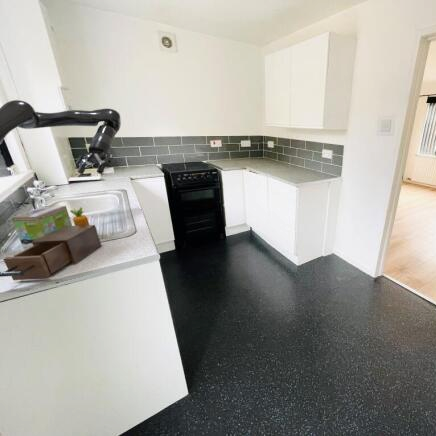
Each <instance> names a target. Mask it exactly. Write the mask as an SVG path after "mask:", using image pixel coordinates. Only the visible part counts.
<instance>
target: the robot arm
mask: <svg viewBox="0 0 436 436" xmlns="http://www.w3.org/2000/svg"><path fill="white" fill-rule="evenodd" d="M100 122H103V123H102V124H101V125H99V123H100ZM121 122H122V121H121V114H120V112H118V111H117V110H116V109H114V108H99V109H93V110H82V109H80V110H79V109H69V110H64V111H58V112H39V111H36V110H35V108H34V107H33V106H32V105H31V104H30V103H28V102H26V101H24V100H20V99H15V100H9V101H7V102H6V103H4V104H2V105H1V106H0V145H1V144H2V143H3V141H4V140H5V138H6V137H7V135H9V134H10V133H11V132H12V131H14V129H17V128H21V129H26V130H30V129H42V128H54V127H97V126H98V128H97V130H96V132H95V134H94V135H93V137H92V139H91V141H90V144H89V147H88V153H86V154H85V153H83V152H81V153H80V154H79V156H78V158H77V159H76V161H75V164H76V165H78V168H77V173H78V174H80V175H84V173H85V171H86V168H87V167H88V166H91V165H93V164H98V167H97V169H96V172H97V173H98V175H102V174H103V173H104V171H105V169H106V168H107V167H111V166H112V162H113V159H114V156H113V155H112V153H110V152H111V149H112V146H113V142H114V140H115V137H116V135H117V134H118V132H119V131H120V129H121V125H122V123H121Z"/></svg>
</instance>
